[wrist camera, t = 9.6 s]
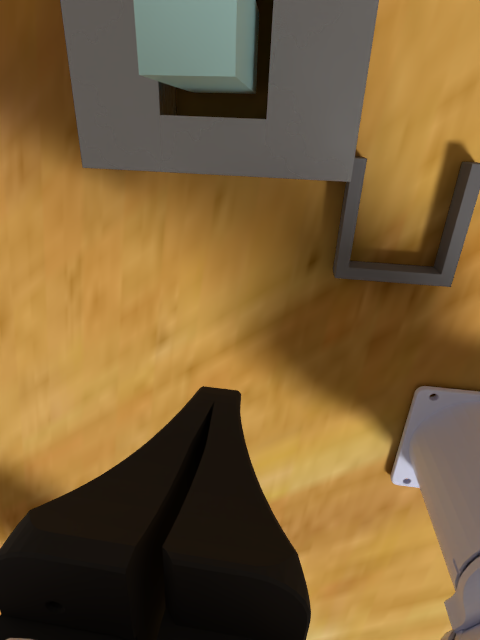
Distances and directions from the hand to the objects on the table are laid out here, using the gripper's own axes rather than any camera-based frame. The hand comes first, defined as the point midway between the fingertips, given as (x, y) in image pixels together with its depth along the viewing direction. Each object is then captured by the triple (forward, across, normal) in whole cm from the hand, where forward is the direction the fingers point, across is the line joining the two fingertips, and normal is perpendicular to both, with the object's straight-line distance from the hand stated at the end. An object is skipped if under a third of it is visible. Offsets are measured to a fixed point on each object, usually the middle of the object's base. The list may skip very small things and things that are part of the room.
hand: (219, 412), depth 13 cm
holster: (+10, -7, -5) cm, 13 cm away
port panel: (+10, +2, -11) cm, 15 cm away
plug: (+10, +2, -12) cm, 16 cm away
